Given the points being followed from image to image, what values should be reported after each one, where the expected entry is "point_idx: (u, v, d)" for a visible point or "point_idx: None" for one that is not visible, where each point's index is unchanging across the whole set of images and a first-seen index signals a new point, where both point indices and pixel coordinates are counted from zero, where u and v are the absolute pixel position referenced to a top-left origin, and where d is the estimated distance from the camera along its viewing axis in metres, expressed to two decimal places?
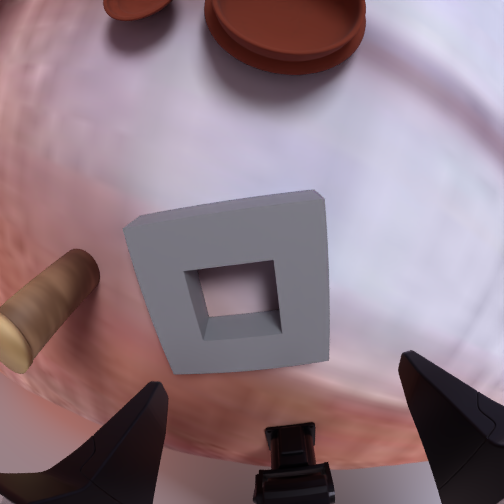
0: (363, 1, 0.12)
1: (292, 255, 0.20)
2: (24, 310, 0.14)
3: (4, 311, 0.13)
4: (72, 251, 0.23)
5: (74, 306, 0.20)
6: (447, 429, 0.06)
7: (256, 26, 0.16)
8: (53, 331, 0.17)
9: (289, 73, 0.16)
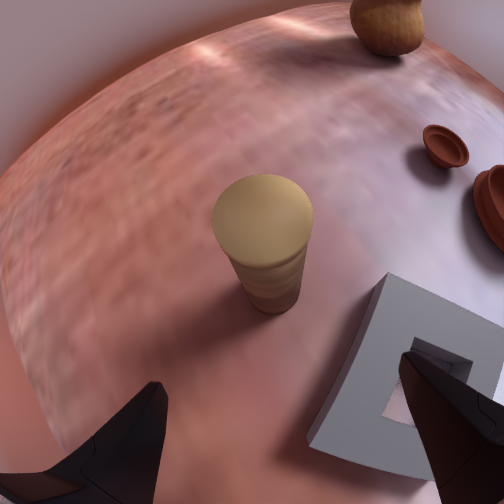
0: None
1: (483, 364, 0.16)
2: None
3: None
4: None
5: (286, 297, 0.19)
6: (447, 429, 0.06)
7: None
8: (284, 283, 0.16)
9: None
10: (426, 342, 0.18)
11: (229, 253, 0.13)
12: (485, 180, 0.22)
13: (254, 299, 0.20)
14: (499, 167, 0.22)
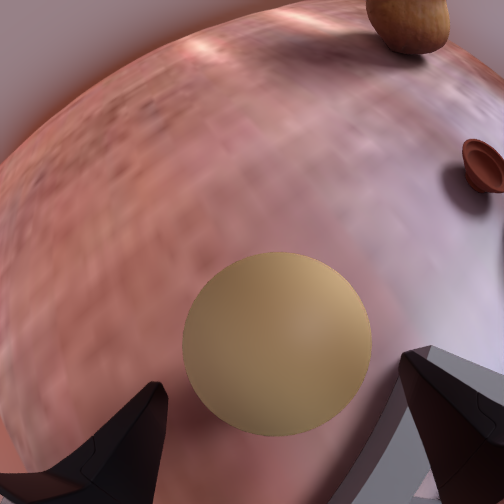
0: None
1: None
2: None
3: None
4: None
5: None
6: (447, 429, 0.06)
7: None
8: None
9: None
10: None
11: (216, 413, 0.06)
12: None
13: None
14: None
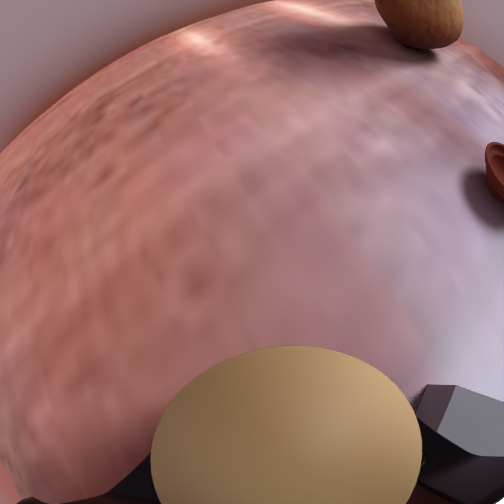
0: None
1: None
2: None
3: None
4: None
5: None
6: None
7: None
8: None
9: None
10: None
11: None
12: None
13: None
14: None
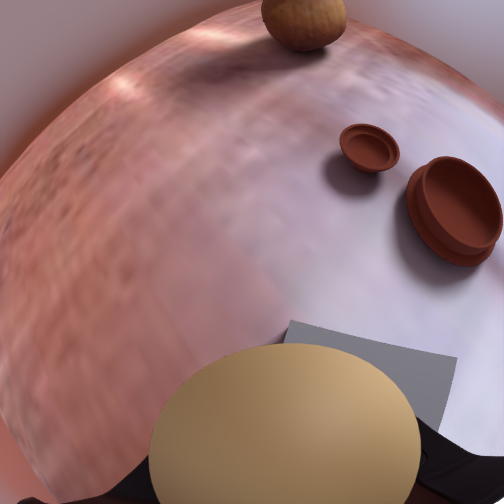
0: (502, 218, 0.20)
1: (421, 400, 0.16)
2: None
3: None
4: None
5: None
6: None
7: None
8: None
9: (450, 260, 0.21)
10: None
11: None
12: (420, 180, 0.23)
13: None
14: (438, 160, 0.23)
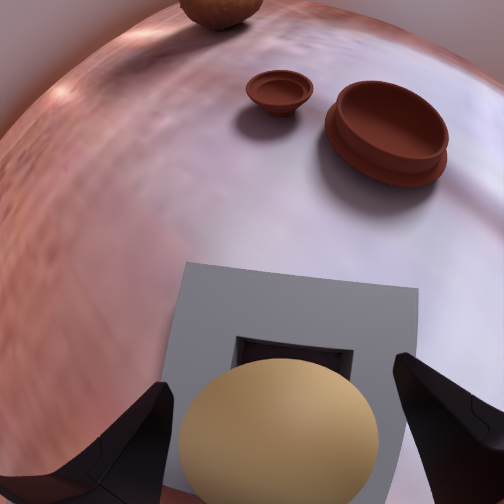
0: (446, 130, 0.18)
1: (376, 348, 0.14)
2: None
3: None
4: None
5: None
6: (440, 432, 0.06)
7: None
8: None
9: (388, 181, 0.20)
10: (260, 339, 0.15)
11: None
12: (336, 106, 0.21)
13: None
14: (357, 85, 0.21)
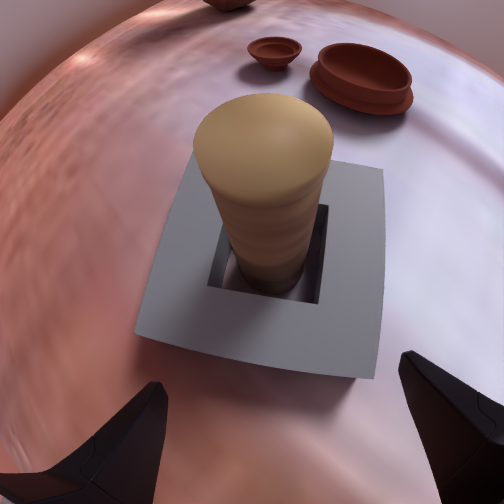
0: (410, 77, 0.22)
1: (349, 206, 0.18)
2: None
3: None
4: None
5: (289, 267, 0.15)
6: (447, 429, 0.06)
7: None
8: (289, 241, 0.12)
9: (359, 109, 0.23)
10: None
11: (213, 180, 0.08)
12: None
13: (248, 270, 0.16)
14: (337, 45, 0.25)
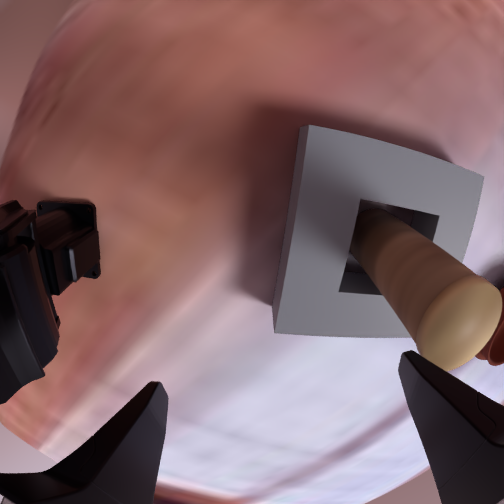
0: (496, 365, 0.22)
1: None
2: None
3: None
4: None
5: (371, 277, 0.17)
6: (447, 429, 0.06)
7: None
8: (392, 305, 0.14)
9: None
10: (433, 232, 0.17)
11: (445, 307, 0.09)
12: None
13: (372, 239, 0.17)
14: None
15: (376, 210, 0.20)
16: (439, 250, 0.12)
